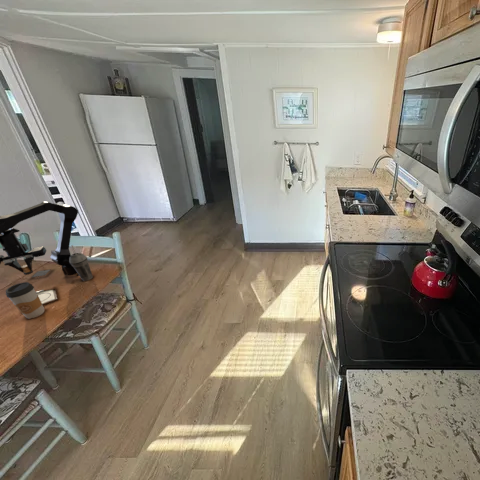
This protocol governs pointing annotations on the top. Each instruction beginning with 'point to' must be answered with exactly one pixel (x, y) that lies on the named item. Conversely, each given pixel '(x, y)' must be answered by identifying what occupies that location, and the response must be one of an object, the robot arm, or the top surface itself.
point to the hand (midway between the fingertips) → (27, 271)
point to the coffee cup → (25, 299)
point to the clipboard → (47, 296)
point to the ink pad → (41, 273)
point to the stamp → (26, 270)
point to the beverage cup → (81, 265)
